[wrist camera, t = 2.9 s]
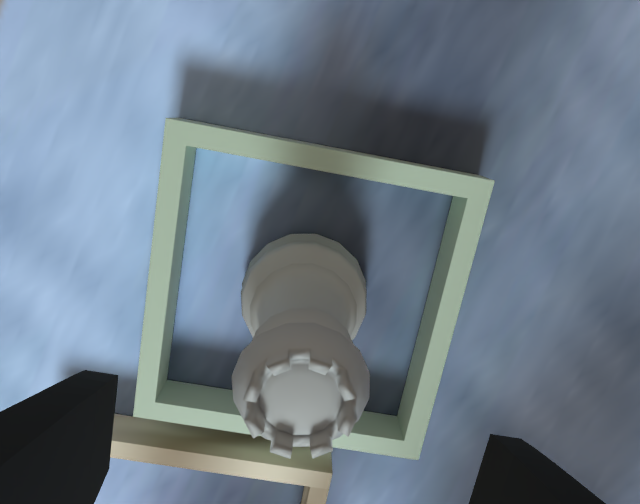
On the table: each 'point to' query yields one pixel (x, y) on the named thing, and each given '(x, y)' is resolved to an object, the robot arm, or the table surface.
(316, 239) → the rook chess piece
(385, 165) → the sage square frame
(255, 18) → the table surface
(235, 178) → the table surface
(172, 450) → the beige square frame
